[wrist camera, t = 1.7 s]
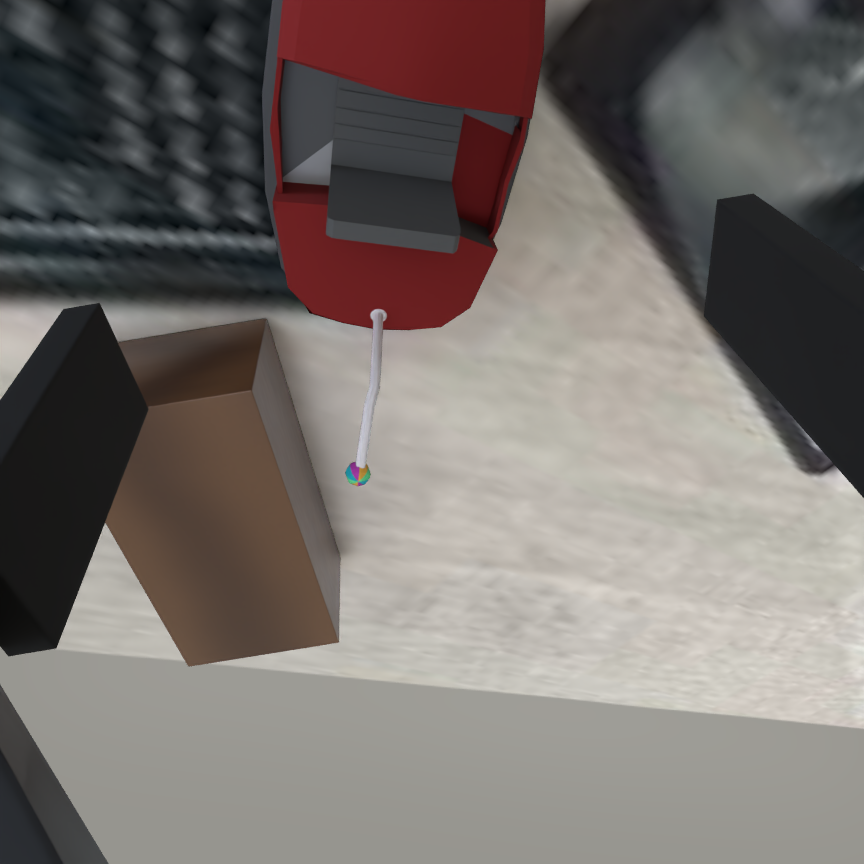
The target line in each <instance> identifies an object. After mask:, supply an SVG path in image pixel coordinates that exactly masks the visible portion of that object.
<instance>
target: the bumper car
mask: <svg viewBox="0 0 864 864" xmlns="http://www.w3.org/2000/svg"><path fill="white" fill-rule="evenodd" d="M544 25H545V0H272V7H271V17H270V26H269V35H268V44H267V53H266V62H265V71H264V81H263V90H262V106H263V138H264V169H265V192H266V197H267V202H268V206H269V211H270V216H271V221H272V226H273V231H274V235H275V240H276V245H277V250H278V255H279V259H280V264H281V268H282V269H283V271H284V272H285V274H286V279H287V284H288V288H289V289H290V290H291V291H292V292H293V293H294V294H295V295H296V296H297V297H298V298H299V299H300V300H301V301H302V302H303V303H304V305H305V306H306V308H307V309H308V311H309V313H311V314H315V315H318V316H321V317H325V318H328V319H332V320H335V321H338V322H342V323H346V324H351V325H356V326H362V327H367V328H372V329H373V339H372V356H371V372H370V386H369V390H368V393H367V397H366V400H365V404H364V410H363V417H362V423H361V430H360V437H359V444H358V451H357V458H356V462H353V463H351V464H350V465H349V467H348V468H347V470H346V472H345V473H346V476H347V479H348V481H349V483H351V484H353V485H356V486H360V485H364V484H365V483H366V482H367V481H368V479H369V478H370V475H371V474H370V471H369V468H368V466H367V464H366V460H367V453H368V447H369V441H370V434H371V427H372V420H373V414H374V407H375V404H376V400H377V396H378V393H379V389H380V375H381V358H382V336H383V330H413V329H425V328H436V327H442V326H443V325H445V324H446V323H448V322H449V321H451V320H452V319H454V318H455V317H457V316H458V315H460V314H461V313H463V312H464V311H466V310H467V309H469V308H470V307H471V305H472V303H473V301H474V299H475V297H476V294H477V292H478V290H479V288H480V286H481V284H482V282H483V280H484V278H485V276H486V274H487V272H488V269H489V267H490V265H491V263H492V261H493V259H494V257H495V255H496V253H497V251H498V249H497V248H496V245H495V243H494V241H493V239H494V237H495V235H496V233H497V231H498V228H499V226H500V224H501V222H502V219H503V215H504V212H505V209H506V205H507V202H508V199H509V195H510V192H511V189H512V186H513V182H514V179H515V176H516V172H517V169H518V166H519V162H520V159H521V156H522V153H523V149H524V146H525V143H526V139H527V136H528V130H529V123H530V119H532V115H533V109H534V103H535V97H536V91H537V85H538V79H539V73H540V67H541V62H542V56H543V50H544Z"/></svg>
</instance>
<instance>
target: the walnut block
mask: <svg viewBox="0 0 864 864" xmlns="http://www.w3.org/2000/svg"><path fill="white" fill-rule="evenodd" d="M118 344H119V346H120V348H121V350H122V353H123V355H124V357H125V359H126V361H127V363H128V365H129V368H130V370H131V372H132V374H133V376H134V378H135V381H136V383H137V385H138V387H139V389H140V391H141V393H142V396H143V398H144V400H145V402H146V404H147V406H148V409H149V410H148V412H147V415H146V418H145V420H144V423H143V425H142V428H141V431H140V433H139V436H138V438H137V441H136V444H135V446H134V449H133V451H132V454H131V456H130V459H129V462H128V464H127V467H126V469H125V472H124V475H123V477H122V480H121V482H120V485H119V488H118V490H117V493H116V495H115V498H114V500H113V503H112V506H111V508H110V511H109V513H108V516H107V519H106V521H105V523H106V525H107V526H108V528H109V530H110V532H111V533H112V535H113V537H114V538H115V540H116V542H117V544H118V545H119V547H120V549H121V551H122V552H123V554H124V556H125V558H126V559H127V561H128V563H129V564H130V566H131V568H132V570H133V571H134V573H135V575H136V577H137V578H138V580H139V582H140V584H141V585H142V587H143V589H144V590H145V592H146V594H147V596H148V597H149V599H150V601H151V603H152V604H153V606H154V608H155V610H156V611H157V613H158V615H159V616H160V618H161V620H162V622H163V623H164V625H165V627H166V629H167V630H168V632H169V634H170V636H171V637H172V639H173V641H174V642H175V644H176V646H177V648H178V649H179V651H180V653H181V655H182V656H183V658H184V660H185V662H186V663H187V665H188V666H195V665H202V664H208V663H214V662H220V661H227V660H233V659H239V658H245V657H251V656H258V655H264V654H270V653H276V652H283V651H289V650H295V649H301V648H307V647H314V646H320V645H326V644H332V643H338V642H339V610H340V555H339V552H338V549H337V546H336V542H335V539H334V536H333V533H332V529H331V526H330V523H329V520H328V516H327V513H326V510H325V507H324V503H323V500H322V497H321V494H320V490H319V487H318V484H317V481H316V477H315V474H314V471H313V468H312V464H311V461H310V458H309V455H308V451H307V448H306V445H305V442H304V439H303V435H302V432H301V429H300V426H299V422H298V419H297V416H296V413H295V409H294V406H293V403H292V400H291V396H290V393H289V390H288V387H287V383H286V380H285V377H284V374H283V370H282V367H281V364H280V361H279V357H278V354H277V351H276V348H275V344H274V341H273V338H272V335H271V331H270V328H269V325H268V322H267V319H260V320H253V321H247V322H241V323H235V324H229V325H223V326H217V327H211V328H204V329H198V330H192V331H186V332H180V333H174V334H168V335H162V336H156V337H149V338H143V339H137V340H131V341H125V342H119V343H118Z"/></svg>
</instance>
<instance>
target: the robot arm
mask: <svg viewBox="0 0 864 864" xmlns="http://www.w3.org/2000/svg"><path fill="white" fill-rule="evenodd" d="M704 317H705V318H706V319H707V320H708V321H709V323H710V324H711V325H712V326H713V327H714V328H715V329H716V331H717V332H718V333H719V334H720V335H721V336H722V337H723V338H724V340H725V341H726V342H727V343H728V344H729V345H730V346H731V348H732V349H733V350H734V351H735V352H736V353H737V354H738V356H739V357H740V358H741V359H742V360H743V361H744V362H745V363H746V365H747V366H748V367H749V368H750V369H751V370H752V371H753V373H754V374H755V375H756V376H757V377H758V378H759V379H760V381H761V382H762V383H763V384H764V385H765V386H766V387H767V388H768V390H769V391H770V392H771V393H772V394H773V395H774V396H775V398H776V399H777V400H778V401H779V402H780V403H781V404H782V406H783V407H784V408H785V409H786V410H787V411H788V412H789V414H790V415H791V416H792V417H793V418H794V419H795V420H796V421H797V423H798V424H799V425H800V426H801V427H802V428H803V429H804V431H805V432H806V433H807V434H808V435H809V436H810V437H811V439H812V440H813V441H814V442H815V443H816V444H817V445H818V446H819V448H820V449H821V450H822V451H823V452H824V453H825V454H826V456H827V457H828V458H829V459H830V460H831V461H832V462H833V464H834V465H835V466H836V467H837V468H838V469H839V470H840V472H841V473H842V474H843V475H844V476H845V477H846V478H847V479H848V481H849V482H850V483H851V484H852V485H853V486H854V487H855V489H856V490H857V491H858V492H859V493H860V494H861V495H862V497H863V498H864V271H863V270H861V269H860V268H859V267H857V266H856V265H854V264H853V263H851V262H850V261H849V260H847V259H846V258H844V257H843V256H841V255H840V254H839V253H837V252H836V251H834V250H833V249H831V248H830V247H829V246H827V245H826V244H824V243H823V242H821V241H820V240H819V239H817V238H816V237H814V236H813V235H811V234H810V233H809V232H807V231H806V230H804V229H803V228H801V227H800V226H799V225H797V224H796V223H794V222H793V221H792V220H790V219H789V218H787V217H786V216H784V215H783V214H782V213H780V212H779V211H777V210H776V209H774V208H773V207H772V206H770V205H769V204H767V203H766V202H764V201H763V200H762V199H760V198H759V197H757V196H756V195H754V194H748V195H742V196H736V197H730V198H724V199H718V200H717V206H716V215H715V224H714V232H713V241H712V250H711V258H710V267H709V276H708V285H707V293H706V302H705V311H704ZM148 410H149V409H148V406H147V404H146V402H145V400H144V398H143V396H142V393H141V391H140V389H139V387H138V385H137V383H136V381H135V378H134V376H133V374H132V372H131V370H130V368H129V365H128V363H127V361H126V359H125V357H124V355H123V353H122V350H121V348H120V346H119V344H118V342H117V340H116V337H115V335H114V333H113V331H112V329H111V327H110V325H109V322H108V320H107V318H106V316H105V314H104V312H103V309H102V307H101V305H100V303H97V304H91V305H85V306H79V307H73V308H67V309H63V311H62V312H61V313H60V315H59V316H58V318H57V319H56V321H55V322H54V324H53V325H52V326H51V328H50V329H49V331H48V332H47V334H46V335H45V337H44V338H43V339H42V341H41V342H40V344H39V345H38V347H37V348H36V349H35V351H34V352H33V354H32V355H31V357H30V358H29V360H28V361H27V362H26V364H25V365H24V367H23V368H22V370H21V371H20V373H19V374H18V375H17V377H16V378H15V380H14V381H13V383H12V384H11V386H10V387H9V388H8V390H7V391H6V393H5V394H4V396H3V397H2V398H1V400H0V647H1V648H2V649H3V650H4V651H5V653H6V654H7V655H8V656H13V655H19V654H25V653H31V652H37V651H43V650H49V649H55V648H57V645H58V643H59V640H60V638H61V635H62V632H63V630H64V627H65V625H66V622H67V619H68V617H69V614H70V612H71V609H72V607H73V604H74V601H75V599H76V596H77V594H78V591H79V588H80V586H81V583H82V581H83V578H84V575H85V573H86V570H87V568H88V565H89V563H90V560H91V557H92V555H93V552H94V550H95V547H96V544H97V542H98V539H99V537H100V534H101V532H102V529H103V526H104V524H105V521H106V519H107V516H108V513H109V511H110V508H111V506H112V503H113V500H114V498H115V495H116V493H117V490H118V488H119V485H120V482H121V480H122V477H123V475H124V472H125V469H126V467H127V464H128V462H129V459H130V456H131V454H132V451H133V449H134V446H135V444H136V441H137V438H138V436H139V433H140V431H141V428H142V425H143V423H144V420H145V418H146V415H147V412H148ZM0 864H108V862H107V861H106V859H105V857H104V856H103V854H102V852H101V851H100V849H99V847H98V846H97V844H96V842H95V841H94V839H93V837H92V836H91V834H90V832H89V831H88V829H87V827H86V826H85V824H84V822H83V821H82V819H81V817H80V816H79V814H78V813H77V811H76V809H75V808H74V806H73V804H72V803H71V801H70V799H69V798H68V796H67V794H66V793H65V791H64V789H63V788H62V786H61V784H60V783H59V781H58V779H57V778H56V776H55V775H54V773H53V771H52V770H51V768H50V767H49V765H48V763H47V761H46V760H45V758H44V756H43V755H42V753H41V751H40V750H39V748H38V747H37V745H36V743H35V741H34V740H33V738H32V736H31V735H30V733H29V732H28V730H27V728H26V727H25V725H24V723H23V722H22V720H21V718H20V717H19V715H18V713H17V712H16V710H15V708H14V707H13V705H12V703H11V702H10V700H9V698H8V697H7V695H6V693H5V692H4V690H3V688H2V687H1V685H0Z"/></svg>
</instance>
